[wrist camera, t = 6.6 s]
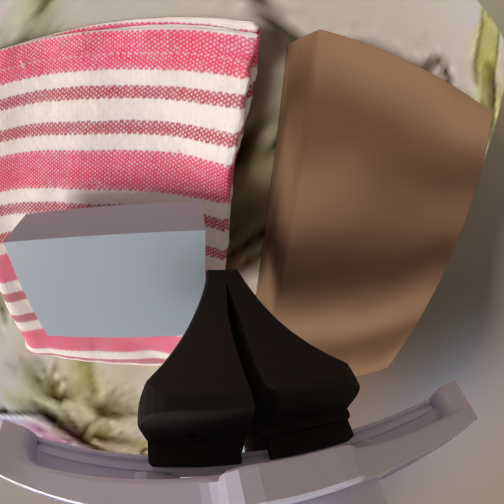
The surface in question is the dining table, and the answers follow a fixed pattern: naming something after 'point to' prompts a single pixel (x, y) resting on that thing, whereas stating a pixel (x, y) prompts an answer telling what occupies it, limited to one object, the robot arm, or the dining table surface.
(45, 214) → the blue-grey tile
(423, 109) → the board
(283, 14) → the dining table surface
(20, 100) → the dish towel
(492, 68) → the dining table surface
